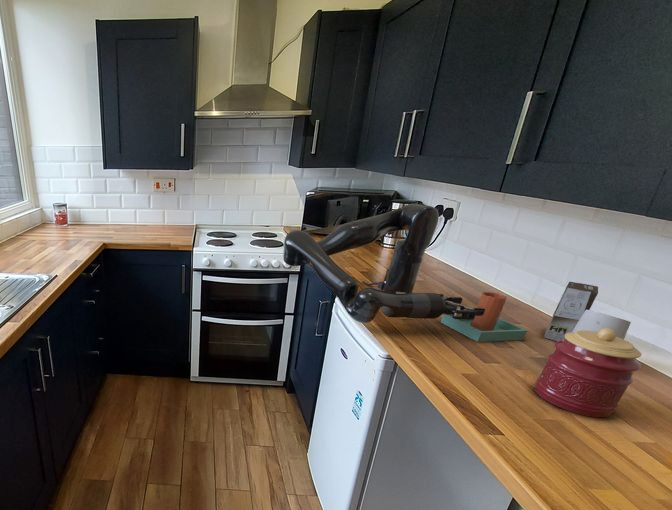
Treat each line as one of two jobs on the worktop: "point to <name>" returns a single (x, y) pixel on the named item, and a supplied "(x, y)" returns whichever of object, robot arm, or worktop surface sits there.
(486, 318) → the tumbler
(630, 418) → the worktop surface
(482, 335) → the tray
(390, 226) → the robot arm
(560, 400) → the kitchen canister
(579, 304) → the coffee box
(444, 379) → the worktop surface
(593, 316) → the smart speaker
